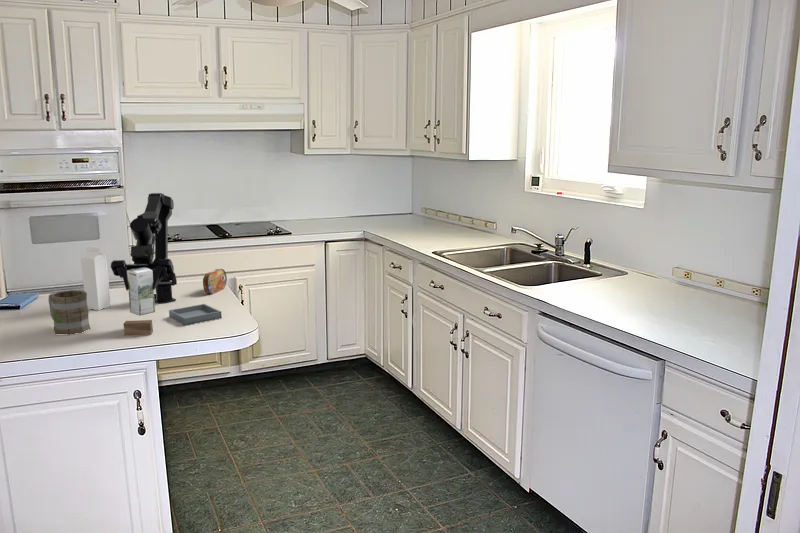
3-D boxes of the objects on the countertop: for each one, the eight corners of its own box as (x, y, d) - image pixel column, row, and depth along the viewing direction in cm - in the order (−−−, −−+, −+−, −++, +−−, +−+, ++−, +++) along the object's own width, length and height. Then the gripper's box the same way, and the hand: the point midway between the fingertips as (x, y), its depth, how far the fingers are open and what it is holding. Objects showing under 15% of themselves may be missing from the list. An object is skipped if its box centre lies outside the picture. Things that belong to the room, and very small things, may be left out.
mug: (97, 328, 220) (94, 292, 218) (67, 337, 211) (63, 300, 209) (67, 321, 228) (64, 286, 226) (37, 329, 219) (33, 293, 217)
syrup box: (146, 309, 224) (142, 266, 221) (155, 312, 220) (152, 269, 217) (129, 313, 220) (126, 269, 217) (139, 316, 216) (136, 272, 213)
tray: (169, 317, 233) (168, 310, 233) (204, 310, 241) (204, 303, 241) (185, 325, 224) (184, 318, 223) (221, 318, 232) (221, 311, 231)
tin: (209, 296, 262) (208, 274, 260) (202, 295, 262) (200, 274, 261) (227, 287, 276) (226, 266, 274) (220, 286, 277) (219, 266, 275)
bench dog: (126, 332, 216) (125, 320, 215) (153, 331, 217) (152, 319, 216) (124, 335, 213) (123, 323, 212) (150, 334, 214) (150, 322, 213)
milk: (98, 310, 241) (93, 250, 236) (85, 309, 243) (79, 248, 238) (111, 306, 247) (105, 247, 242) (98, 304, 249) (92, 245, 244)
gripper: (109, 236, 217) (103, 277, 209) (169, 234, 220) (165, 275, 212) (117, 255, 226) (112, 295, 218) (175, 253, 229) (172, 293, 221)
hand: (140, 289), depth 217 cm, fingers closed on syrup box, 8 cm apart
